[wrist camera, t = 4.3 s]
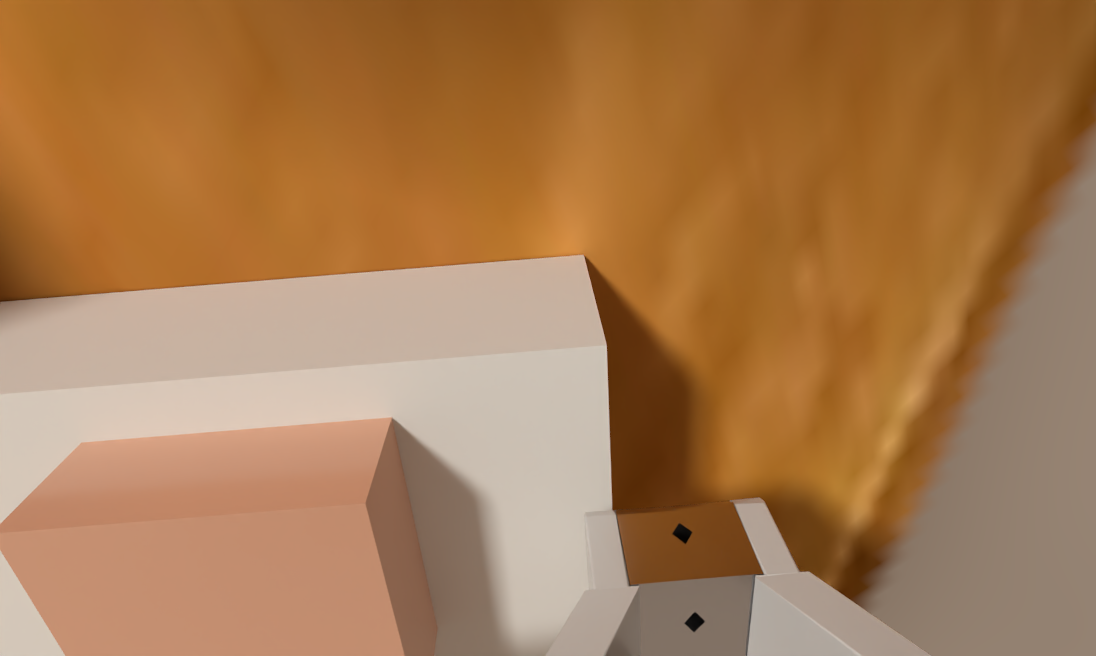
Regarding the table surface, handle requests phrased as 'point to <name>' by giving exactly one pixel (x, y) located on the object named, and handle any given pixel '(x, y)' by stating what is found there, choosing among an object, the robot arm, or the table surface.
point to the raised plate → (351, 413)
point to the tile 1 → (228, 546)
